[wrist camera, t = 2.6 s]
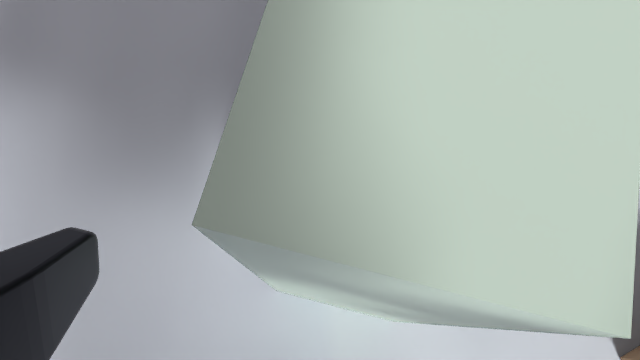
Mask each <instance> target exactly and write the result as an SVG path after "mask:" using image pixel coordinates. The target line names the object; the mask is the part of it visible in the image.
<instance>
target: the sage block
mask: <svg viewBox="0 0 640 360" xmlns="http://www.w3.org/2000/svg"><path fill="white" fill-rule="evenodd" d="M639 182H640V0H268V2H267V5H266V8H265V11H264V14H263V17H262V20H261V23H260V26H259V28H258V31H257V34H256V37H255V40H254V43H253V46H252V49H251V52H250V55H249V58H248V61H247V64H246V67H245V70H244V73H243V76H242V79H241V81H240V84H239V87H238V90H237V93H236V96H235V99H234V102H233V105H232V108H231V111H230V114H229V117H228V120H227V123H226V126H225V129H224V132H223V134H222V137H221V140H220V143H219V146H218V149H217V152H216V155H215V158H214V161H213V164H212V167H211V170H210V173H209V176H208V179H207V182H206V185H205V187H204V190H203V193H202V196H201V199H200V202H199V205H198V208H197V211H196V214H195V217H194V220H193V223H192V226H194V227H195V228H196V229H197V230H199V231H200V232H201V233H203V234H204V235H205V236H206V237H208V238H209V239H210V240H212V241H213V242H214V243H216V244H217V245H218V246H219V247H221V248H222V249H223V250H225V251H226V252H227V253H228V254H230V255H231V256H232V257H234V258H235V259H236V260H237V261H239V262H240V263H241V264H243V265H244V266H245V267H246V268H248V269H249V270H250V271H252V272H253V273H254V274H255V275H257V276H258V277H259V278H261V279H262V280H263V281H264V282H266V283H267V284H268V285H270V286H271V287H272V288H273V289H275V290H276V291H279V292H283V293H287V294H290V295H294V296H298V297H302V298H306V299H309V300H313V301H317V302H321V303H325V304H328V305H332V306H336V307H340V308H344V309H347V310H351V311H355V312H359V313H363V314H366V315H370V316H374V317H378V318H382V319H385V320H389V321H393V322H405V323H418V324H432V325H446V326H460V327H474V328H488V329H502V330H516V331H530V332H544V333H558V334H572V335H586V336H600V337H614V338H628V339H631V327H632V309H633V291H634V273H635V255H636V236H637V218H638V200H639Z"/></svg>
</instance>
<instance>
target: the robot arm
mask: <svg viewBox="0 0 640 360" xmlns="http://www.w3.org/2000/svg"><path fill="white" fill-rule="evenodd" d="M98 275H99V256H98V240H97V237H96V235H95V234H94V233H93V232H90V231H86V230H82V229H78V228H73V227H70V228H66V229H63V230H60V231H57V232H55V233H52V234H49V235H46V236H43V237H41V238H38V239H35V240H32V241H29V242H27V243H24V244H21V245H18V246H15V247H13V248H10V249H7V250H4V251H1V252H0V360H49V359H50V358H51V356H52V355H53V353H54V351H55V350H56V348H57V346H58V345H59V343H60V342H61V340H62V338H63V337H64V335H65V333H66V332H67V330H68V328H69V327H70V325H71V323H72V322H73V320H74V318H75V317H76V315H77V313H78V312H79V310H80V308H81V307H82V305H83V304H84V302H85V300H86V299H87V297H88V295H89V294H90V292H91V290H92V289H93V287H94V285H95V283H96V281H97V279H98Z"/></svg>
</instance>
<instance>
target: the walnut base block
mask: <svg viewBox="0 0 640 360" xmlns="http://www.w3.org/2000/svg"><path fill="white" fill-rule="evenodd" d="M620 359H621V360H640V346H638V347H637V348H635V349H633V350H632V351H630V352H628V353H627V354H625V355H624V356H622V357H620Z"/></svg>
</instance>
